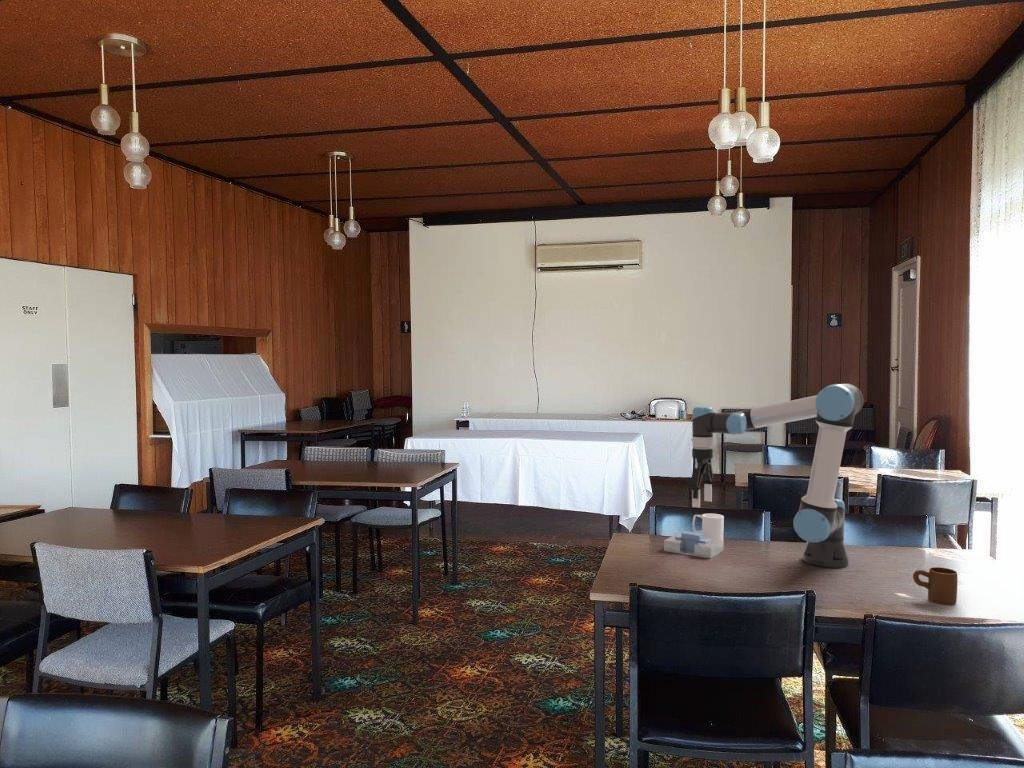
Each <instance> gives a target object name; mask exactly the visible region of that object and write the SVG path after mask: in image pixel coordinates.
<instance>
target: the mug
mask: <svg viewBox="0 0 1024 768" xmlns="http://www.w3.org/2000/svg"><path fill="white" fill-rule="evenodd" d="M920 575H921V576H923V577H926V578H928V580H927V581H926V580H922V579H920V577H919V576H920ZM912 578H913V582H914V583H915V584H916V585H918V586H920V587H923V588H926V590H927V599H928V600H929V601H930V602H932V603H934V604H939V605H943V606H944V605H945V606H947V605H948V606H949V605H950V606H952V605H953V606H954V605H955V604H956V603H957V599H958V581H959V580H958V579H959V577H958V572H957V571H956V570H954V569H951V568H946V567H940V566H939V567H938V566H937V567H935V566H934V567H930V568H929V569H928V571H926V570H924V569H916V570H915V571H914V572H913V574H912Z"/></svg>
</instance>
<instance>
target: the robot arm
mask: <svg viewBox="0 0 1024 768" xmlns="http://www.w3.org/2000/svg"><path fill="white" fill-rule="evenodd" d="M863 406H864V396H863V394H862V391H861V390H860V389H859V388H858V387H857V386H855V385H853V384H851V383H833V384H829V385H827V386H825V387H824V388H823V389H821V390H820V391H819V392H818V393H817V394H816V395H812V396H807V397H802V398H798V399H792V400H788V401H783V402H778V403H773V404H768V405H763V406H759V407H754V408H751V409H744V410H739V411H734V412H715V411H714V408H713V406H695V407H693V408H692V415H691V416H692V417H691V422H692V423H691V424H692V426H691V427H692V432H691V433H692V435H691V436H692V437H691V439H690V441H691V443H692V444H691V445H692V449H691V457H692V458H693V459H695V460H696V462H695V461H694V462H693V464H692V473H691V480H690V484H689V485H690V486H689V490H691V491H692V493H691V495H692V496H691V497H692V498H691V499H692V500H691V501H692V503H691V505H692V506H691V507H692V508H698V509H699V508H701V489H700V487H701V483H702V479H704V486H703V487H704V488H703V490H704V491H703V493H704V495H703V499H704V500H703V501H704V502H712V501H713V487H712V486H713V485H715V479H714V472H713V471H714V470H713V464H712V459H713V457H714V452H713V451H714V450H713V449H714V435H713V434H718V433H719V434H730V435H743V434H744V433H745V432H747V431H750V430H754V429H758V428H759V429H760V428H764V427H765V428H766V427H770V426H771V427H772V426H776V425H780V424H785V423H791V422H797V421H802V420H807V419H808V420H809V419H813V418H815V423H816V424H817V425H818V427H819V428H818V432H817V438H816V444H815V448H814V455H813V459H812V465H811V471H810V476H809V481H808V487H807V491H806V494H805V495H804V496H802V497H801V499H800V505H799V509H798V511H797V513H796V514H795V516H794V518H793V525H792V526H793V529H794V532H795V533H796V534H797V535H798V536H799V538H801V539H802V540H804V541H806V544H805V547H804V549H803V552H802V560H803V561H804V563H806V564H810V565H813V566H816V567H820V568H822V567H823V568H832V569H833V568H835V569H837V568H845V567H848V566H849V563H850V562H849V561H850V560H849V555H848V552H847V548H846V545H845V542H844V541H845V515H846V514H845V512H846V508H845V507H846V506H845V502H844V500H842V499H840V498H839V499H837V498H835V495H836V490H837V485H838V479H839V474H840V468H841V463H842V458H843V451H844V447H845V442H846V436H847V432H849V431H850V430H851V429H853V427H854V422H855V416H856V415H857V414H858V413H859V412H860V411H861V410H862V408H863Z"/></svg>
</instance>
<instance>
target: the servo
mask: <svg viewBox="0 0 1024 768" xmlns="http://www.w3.org/2000/svg"><path fill="white" fill-rule="evenodd" d="M675 538H676V539H681V540H684V550H690V551H694V546H695V545H696V544H697V543H707V542H709V539H703V534H701V533H695V532H694V531H693V532H692V531H689V530H688V531H687V530H684V531H683V532H681V535H677V536H676V537H675Z"/></svg>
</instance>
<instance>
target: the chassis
mask: <svg viewBox="0 0 1024 768" xmlns="http://www.w3.org/2000/svg"><path fill="white" fill-rule="evenodd" d="M681 534H682V532H681V533H680V532H677V533H675V534H673V535H672V536H670V537H668V538H666V539H664V541H663V552H669V553H675V554H680V555H687V556H693V557H698V558H699V557H700V558H703V559H704V558H705V559H710V560H711V559H713V558H715V556H717V555H718V554H720V553H722V552H723V551H724V546H725V545H724V543H725V542H724V541H725V539H723V540H721V539H715V538H708V537H707V538H706V539H709V542H707V543H697V544H696V545H695V546H694V551H690V550H684V540H681V539H676V538H675V537H676V536H677V535H681Z"/></svg>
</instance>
